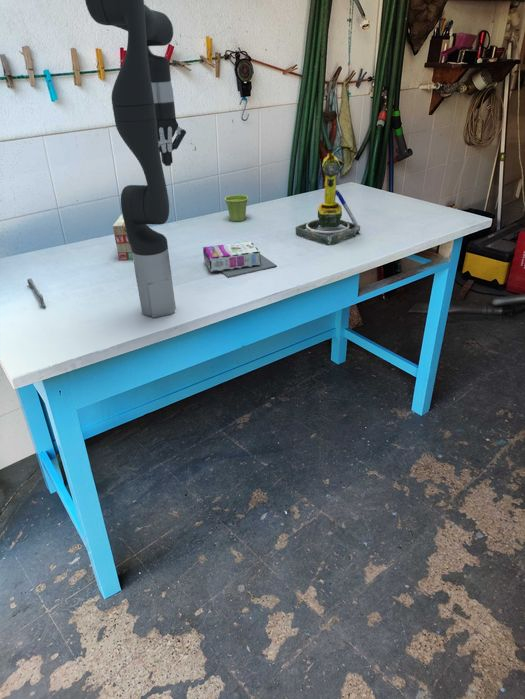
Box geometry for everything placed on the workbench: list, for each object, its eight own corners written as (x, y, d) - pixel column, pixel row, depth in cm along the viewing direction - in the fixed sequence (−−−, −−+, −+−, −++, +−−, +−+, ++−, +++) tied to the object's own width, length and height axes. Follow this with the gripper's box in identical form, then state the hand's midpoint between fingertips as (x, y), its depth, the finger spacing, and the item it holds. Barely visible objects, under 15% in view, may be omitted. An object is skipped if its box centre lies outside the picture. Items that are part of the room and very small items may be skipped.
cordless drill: (290, 235, 192) (290, 156, 177) (325, 223, 202) (327, 148, 188) (329, 247, 180) (332, 164, 165) (363, 234, 191) (369, 154, 176)
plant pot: (221, 219, 211) (219, 198, 206) (239, 214, 216) (238, 193, 211) (236, 224, 205) (234, 202, 200) (254, 219, 210) (253, 197, 205)
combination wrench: (26, 276, 158) (38, 298, 143) (30, 275, 159) (43, 297, 144) (29, 287, 160) (42, 310, 145) (33, 286, 161) (47, 309, 146)
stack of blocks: (131, 239, 194) (126, 206, 187) (148, 239, 194) (143, 205, 187) (118, 261, 175) (112, 225, 169) (137, 260, 175) (131, 224, 169)
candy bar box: (210, 273, 162) (261, 266, 166) (208, 258, 160) (260, 251, 163) (204, 261, 172) (252, 254, 175) (202, 246, 169) (251, 240, 172)
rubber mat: (276, 266, 166) (276, 265, 166) (227, 277, 160) (227, 276, 160) (249, 248, 182) (249, 246, 182) (204, 257, 175) (203, 255, 175)
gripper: (139, 103, 139) (148, 170, 148) (187, 99, 143) (193, 165, 152) (133, 100, 145) (142, 165, 154) (179, 97, 149) (185, 160, 158)
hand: (167, 165), depth 153 cm, fingers closed
